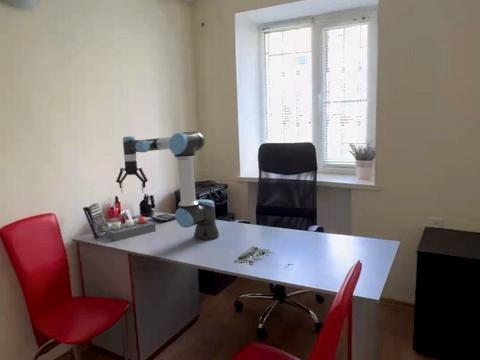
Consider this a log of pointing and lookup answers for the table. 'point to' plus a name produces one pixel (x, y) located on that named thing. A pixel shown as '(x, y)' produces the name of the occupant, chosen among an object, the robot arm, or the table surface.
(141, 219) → the button red
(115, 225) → the button sage
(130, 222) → the button cream
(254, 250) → the model
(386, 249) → the table surface
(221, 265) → the table surface
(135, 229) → the grey tray
